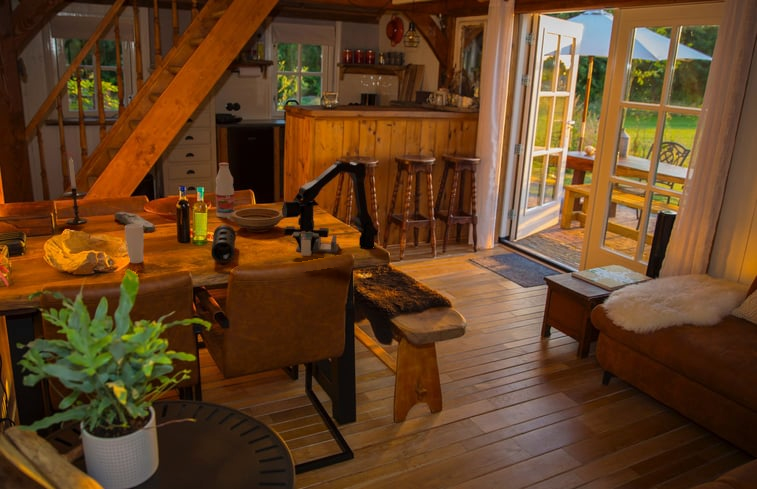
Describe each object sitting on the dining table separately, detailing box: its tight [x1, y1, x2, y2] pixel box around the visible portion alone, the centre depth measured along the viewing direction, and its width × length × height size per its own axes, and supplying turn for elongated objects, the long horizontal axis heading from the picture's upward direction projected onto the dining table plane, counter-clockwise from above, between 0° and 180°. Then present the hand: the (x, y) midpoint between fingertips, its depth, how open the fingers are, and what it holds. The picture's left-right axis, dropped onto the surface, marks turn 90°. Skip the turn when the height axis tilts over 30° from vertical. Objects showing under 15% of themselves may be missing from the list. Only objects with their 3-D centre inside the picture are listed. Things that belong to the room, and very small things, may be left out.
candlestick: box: [61, 150, 88, 226], centre depth 289 cm, size 11×11×35 cm
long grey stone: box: [113, 211, 156, 233], centre depth 295 cm, size 35×5×10 cm
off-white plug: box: [300, 237, 313, 257], centre depth 260 cm, size 4×4×7 cm
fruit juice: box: [215, 162, 236, 219], centre depth 315 cm, size 9×9×28 cm
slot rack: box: [295, 234, 340, 254], centre depth 269 cm, size 18×11×5 cm, turn 89°
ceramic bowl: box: [227, 207, 285, 233], centre depth 296 cm, size 30×24×8 cm
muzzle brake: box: [210, 224, 237, 266], centre depth 253 cm, size 10×28×10 cm, turn 12°
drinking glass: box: [124, 224, 145, 264], centre depth 239 cm, size 7×7×15 cm
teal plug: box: [305, 234, 315, 247], centre depth 268 cm, size 4×4×7 cm
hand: (306, 250), depth 260 cm, fingers closed on off-white plug, 4 cm apart
